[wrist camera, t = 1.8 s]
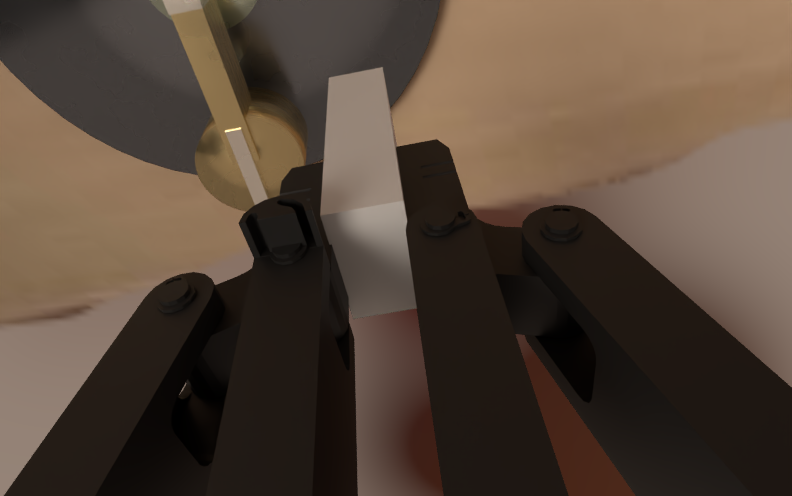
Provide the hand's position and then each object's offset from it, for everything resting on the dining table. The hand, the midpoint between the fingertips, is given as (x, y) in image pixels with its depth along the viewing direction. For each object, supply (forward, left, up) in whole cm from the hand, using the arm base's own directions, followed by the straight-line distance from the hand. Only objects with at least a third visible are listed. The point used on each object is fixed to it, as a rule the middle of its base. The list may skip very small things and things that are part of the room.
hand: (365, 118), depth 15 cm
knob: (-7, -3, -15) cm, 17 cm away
